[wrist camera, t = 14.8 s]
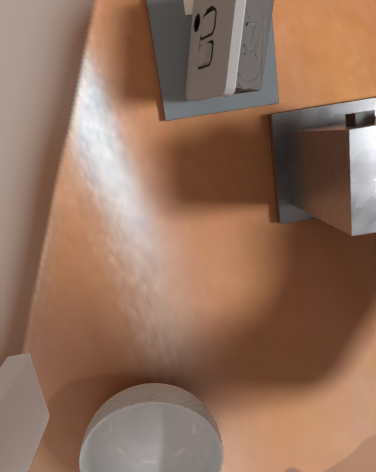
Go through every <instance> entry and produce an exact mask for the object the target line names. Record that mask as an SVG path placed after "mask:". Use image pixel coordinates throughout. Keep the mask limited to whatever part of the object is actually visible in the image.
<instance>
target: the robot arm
mask: <svg viewBox="0 0 376 472" xmlns="http://www.w3.org/2000/svg"><path fill="white" fill-rule="evenodd" d="M49 418H50V415H49V411H48V408H47V405H46V402H45V399H44V396H43V393H42V390H41V386H40V383H39V380H38V377H37V374H36V371H35V368H34V365H33V362H32V358H31V355H30V353H25V354H20V355H14V356H8V357H7V358H6V360H5V361H4V363H3V364H2V366H1V367H0V472H29V469H30V467H31V464H32V462H33V459H34V456H35V454H36V451H37V449H38V446H39V444H40V441H41V439H42V436H43V434H44V431H45V429H46V426H47V423H48V421H49Z"/></svg>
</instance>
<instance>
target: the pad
mask: <svg viewBox="0 0 376 472" xmlns="http://www.w3.org/2000/svg"><path fill="white" fill-rule="evenodd" d="M146 2H147V8H148V14H149V21H150V27H151V33H152V39H153V45H154V51H155V58H156V64H157V70H158V76H159V82H160V89H161V95H162V101H163V107H164V113H165V120H166V121H169V120H175V119H182V118H188V117H194V116H201V115H207V114H213V113H220V112H226V111H232V110H239V109H245V108H251V107H258V106H264V105H271V104H277V103H279V97H278V84H277V71H276V58H275V45H274V32H273V19H272V18H271V25H270V32H269V39H268V47H267V54H266V61H265V68H264V75H263V82H262V90H260V91H254V92H247V93H240V94H232V95H231V96H230V97H228V98H224V97H223V96H219V97H214V98H209V99H204V100H199V101H191V100H187V99H186V81H187V70H188V58H189V46H190V35H191V23H192V11H193V2H194V0H146ZM268 4H269V2H268ZM264 17H265V16H264ZM250 24H251V25H252V26H253V25H255V24H257V23H252V22H251V23H250ZM246 27H247V26H246ZM248 50H252V49H251V48H249V49H248ZM252 55H254V54H252ZM243 56H244V55H242V56H241V57H243ZM254 56H255V55H254ZM259 71H260V70H259ZM239 77H240V76H239ZM240 78H241V77H240ZM241 79H242V78H241ZM252 81H253V80H252ZM254 90H257V89H254Z"/></svg>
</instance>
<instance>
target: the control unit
mask: <svg viewBox="0 0 376 472" xmlns="http://www.w3.org/2000/svg"><path fill="white" fill-rule="evenodd" d="M269 124H270V136H271V147H272V159H273V171H274V183H275V195H276V207H277V219H278V223H280V224H285V223H291V222H297V221H303V220H309V219H315V218H318V219H320V220H322V221H324V222H326V223H328V224H329V225H331V226H333V227H335V228H337V229H339V230H341V231H343V232H345V233H347V234H349V235H350V236H356V235H362V234H368V233H374V232H376V98H371V99H364V100H358V101H352V102H345V103H339V104H333V105H326V106H320V107H314V108H307V109H301V110H295V111H289V112H282V113H276V114H270V115H269Z"/></svg>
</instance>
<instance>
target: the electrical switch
mask: <svg viewBox="0 0 376 472" xmlns="http://www.w3.org/2000/svg"><path fill="white" fill-rule="evenodd" d="M268 2H269V4H268ZM273 3H274V0H194V2H193V11H192V23H191V35H190V46H189V58H188V70H187V81H186V99H187V100H191V101H199V100H204V99H209V98H214V97H219V96H223V97H224V98H228V97H230V96H231V95H232V94H240V93H247V92H254V91H260V90H262V82H263V75H264V68H265V61H266V54H267V47H268V39H269V32H270V25H271V18H272V11H273ZM264 16H265V17H264ZM251 22H252V23H257V24H255V25H253V26H252V25H251V24H250V23H251ZM246 26H247V27H246ZM249 48H251V49H252V50H248V49H249ZM252 54H254V55H255V56H254V55H252ZM242 55H244V56H243V57H241V56H242ZM259 70H260V71H259ZM239 76H240V77H241V78H242V79H241V78H240V77H239ZM252 80H253V81H252ZM254 89H257V90H254Z"/></svg>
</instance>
